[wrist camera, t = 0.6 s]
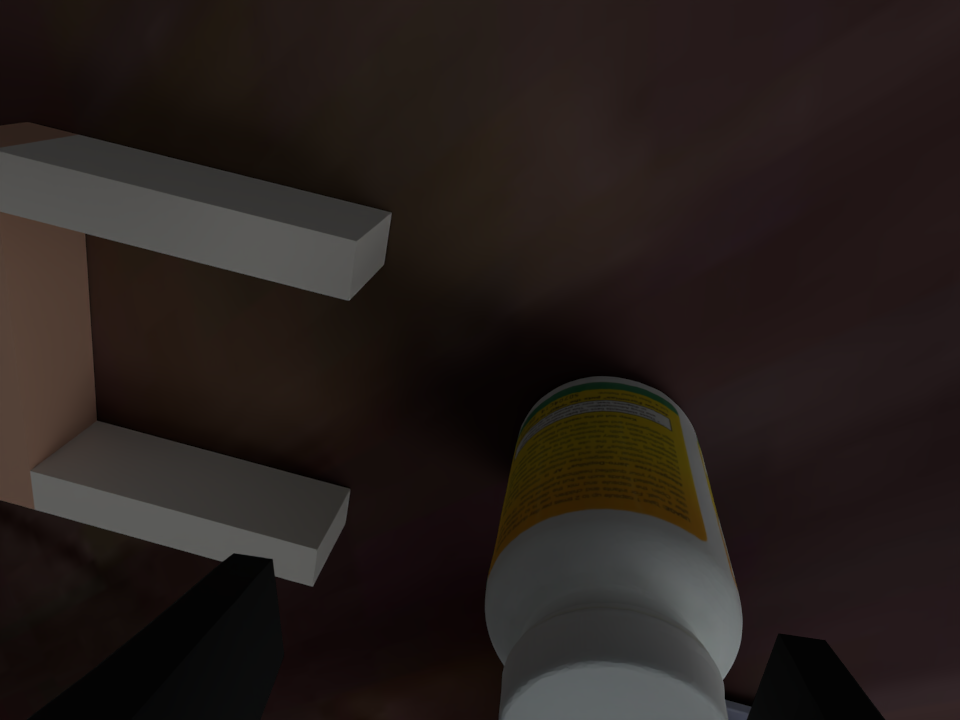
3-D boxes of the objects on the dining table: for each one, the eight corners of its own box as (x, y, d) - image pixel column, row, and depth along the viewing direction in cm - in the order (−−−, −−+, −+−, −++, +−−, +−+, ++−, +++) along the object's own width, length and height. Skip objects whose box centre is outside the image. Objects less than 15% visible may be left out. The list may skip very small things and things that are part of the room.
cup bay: (345, 523, 23) (312, 586, 20) (59, 445, 23) (-11, 496, 21) (391, 212, 18) (356, 241, 15) (27, 121, 18) (-69, 134, 16)
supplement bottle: (730, 473, 20) (839, 801, 11) (579, 544, 22) (572, 870, 13) (632, 334, 18) (669, 586, 10) (480, 424, 20) (399, 699, 12)
